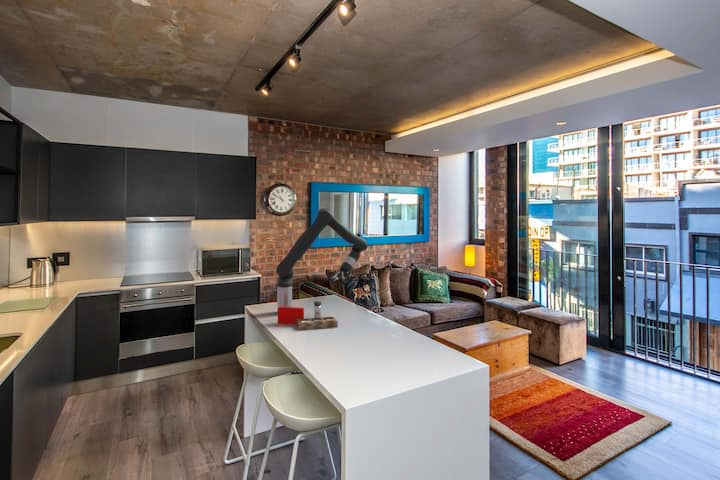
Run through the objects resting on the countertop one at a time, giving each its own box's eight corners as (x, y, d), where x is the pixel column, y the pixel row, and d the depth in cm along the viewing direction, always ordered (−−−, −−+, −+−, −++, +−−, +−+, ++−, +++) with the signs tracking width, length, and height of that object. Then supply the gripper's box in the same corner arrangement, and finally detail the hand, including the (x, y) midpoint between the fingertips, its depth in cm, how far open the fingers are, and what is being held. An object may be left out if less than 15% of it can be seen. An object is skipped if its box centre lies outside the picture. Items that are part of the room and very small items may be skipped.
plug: (312, 319, 229) (313, 301, 229) (320, 318, 231) (320, 300, 230) (314, 321, 225) (314, 302, 224) (321, 320, 227) (322, 302, 226)
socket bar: (299, 330, 207) (299, 322, 207) (296, 324, 216) (296, 317, 216) (337, 327, 214) (337, 320, 214) (333, 322, 223) (333, 315, 223)
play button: (303, 324, 219) (304, 307, 218) (302, 326, 216) (302, 308, 216) (279, 323, 221) (279, 306, 220) (277, 324, 218) (277, 307, 217)
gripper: (337, 260, 241) (323, 280, 233) (353, 262, 231) (340, 283, 224) (343, 268, 245) (330, 287, 237) (359, 270, 236) (346, 290, 228)
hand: (335, 285), depth 231 cm, fingers open, 8 cm apart
